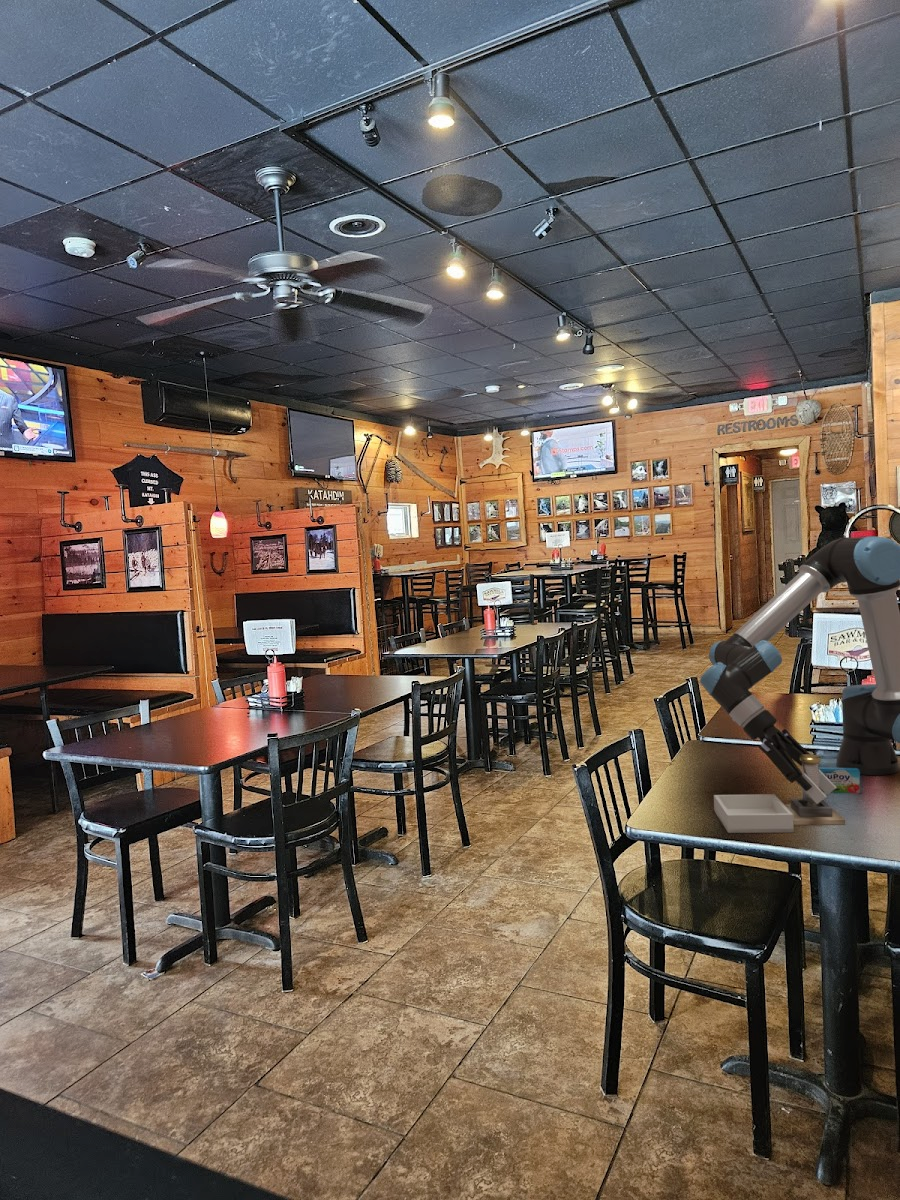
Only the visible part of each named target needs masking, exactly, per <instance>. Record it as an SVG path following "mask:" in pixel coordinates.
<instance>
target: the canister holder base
mask: <svg viewBox="0 0 900 1200" xmlns="http://www.w3.org/2000/svg"><path fill="white" fill-rule="evenodd" d="M783 804H784V805H785V806H786V807H787V808H788V809H789V811H790V812H791V813H792V814H793V824H794V826H797V825H798V826H801V825H802V826H804V825H805V826H806V825H807V826H808V825H809V826H810V825H812V826H814V825H819V826H820V825H823V826H824V825H825V826H826V825H846V819H845V818H843V817H842V815H840V814H839V813H838V812H837V811H836V810H835V809H834V808H833V807H832V806H830V804H828V803H827V802H826V801H825V800H824V799H823V800H822V801H820V802H819V804H820V807H803V805H802V798H790V802H789V803H783Z"/></svg>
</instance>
